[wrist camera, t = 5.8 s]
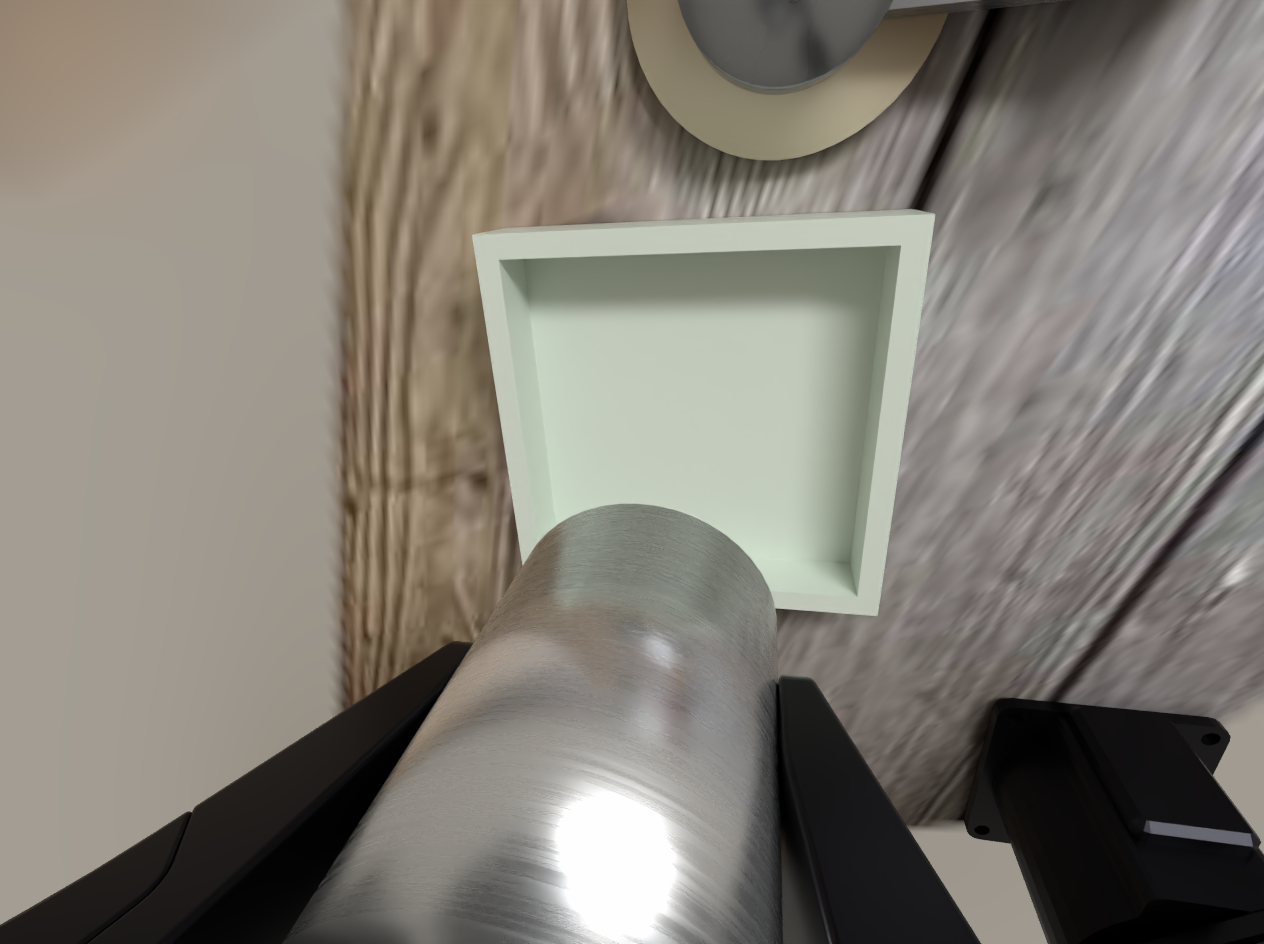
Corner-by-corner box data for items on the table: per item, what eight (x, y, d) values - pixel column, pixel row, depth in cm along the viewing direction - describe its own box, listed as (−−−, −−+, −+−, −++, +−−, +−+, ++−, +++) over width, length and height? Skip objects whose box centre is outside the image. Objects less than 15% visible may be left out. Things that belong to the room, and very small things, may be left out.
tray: (865, 570, 19) (877, 615, 17) (549, 550, 21) (526, 589, 19) (912, 209, 15) (934, 214, 13) (507, 227, 17) (472, 234, 15)
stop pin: (770, 730, 10) (772, 1264, 5) (534, 700, 11) (338, 1138, 6) (784, 511, 8) (808, 995, 3) (503, 496, 9) (189, 870, 4)
